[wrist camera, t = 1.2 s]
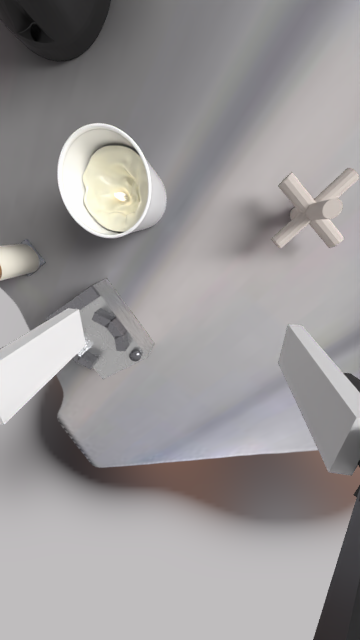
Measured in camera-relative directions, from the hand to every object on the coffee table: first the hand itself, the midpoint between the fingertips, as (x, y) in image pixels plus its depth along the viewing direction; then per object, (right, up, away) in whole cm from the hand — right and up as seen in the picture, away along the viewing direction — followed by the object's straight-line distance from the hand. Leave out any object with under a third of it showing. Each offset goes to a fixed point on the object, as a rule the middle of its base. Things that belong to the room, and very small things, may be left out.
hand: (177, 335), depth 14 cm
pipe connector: (+17, +16, +17) cm, 28 cm away
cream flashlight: (-27, +12, +25) cm, 39 cm away
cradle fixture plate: (-13, 0, +28) cm, 31 cm away
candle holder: (-6, +19, +19) cm, 27 cm away
